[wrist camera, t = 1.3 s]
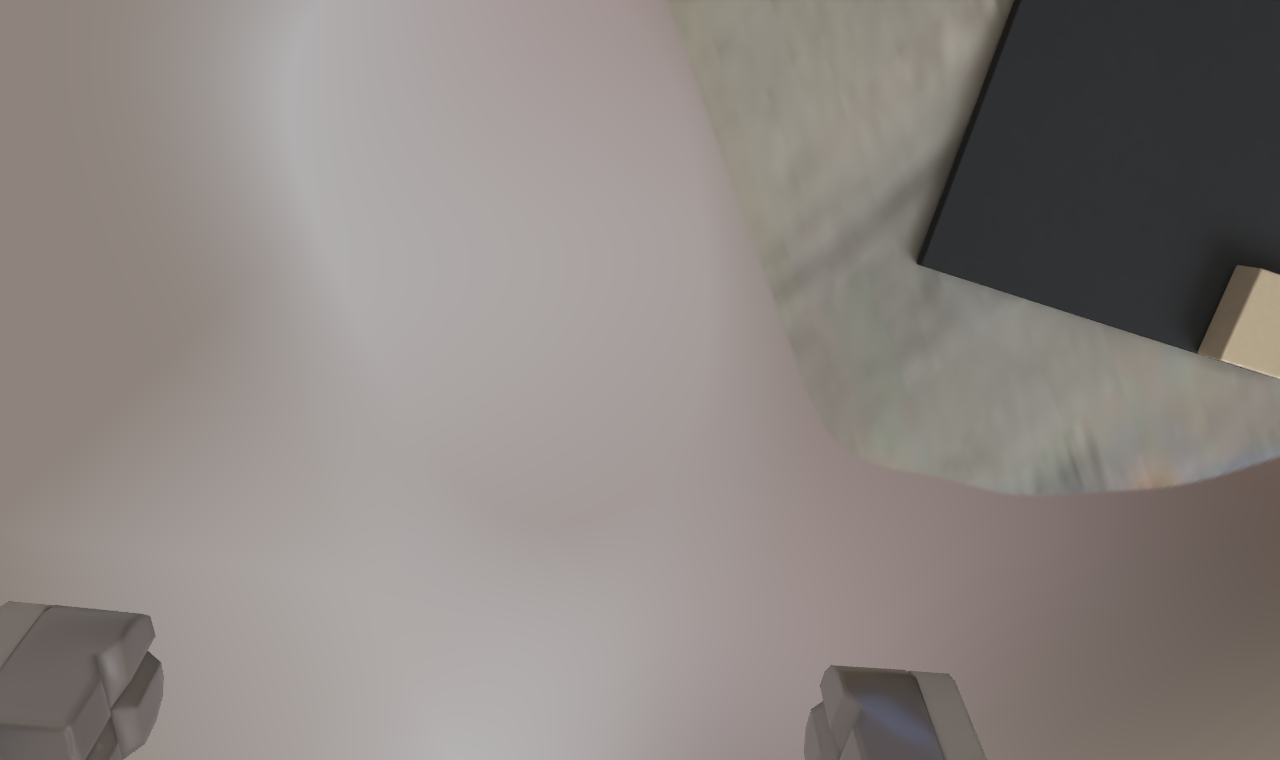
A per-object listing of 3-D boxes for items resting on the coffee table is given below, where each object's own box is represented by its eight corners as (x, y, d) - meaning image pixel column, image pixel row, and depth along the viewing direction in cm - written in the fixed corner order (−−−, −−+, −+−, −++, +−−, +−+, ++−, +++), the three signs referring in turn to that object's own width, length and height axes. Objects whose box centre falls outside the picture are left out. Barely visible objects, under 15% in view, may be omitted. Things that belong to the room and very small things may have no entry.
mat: (1065, -138, 34) (1074, -143, 34) (1437, 8, 37) (1450, 6, 36) (915, 263, 38) (920, 265, 37) (1265, 375, 40) (1275, 378, 39)
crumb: (1235, 264, 38) (1262, 267, 37) (1316, 291, 39) (1345, 296, 37) (1195, 353, 39) (1219, 360, 37) (1275, 378, 39) (1301, 386, 38)
